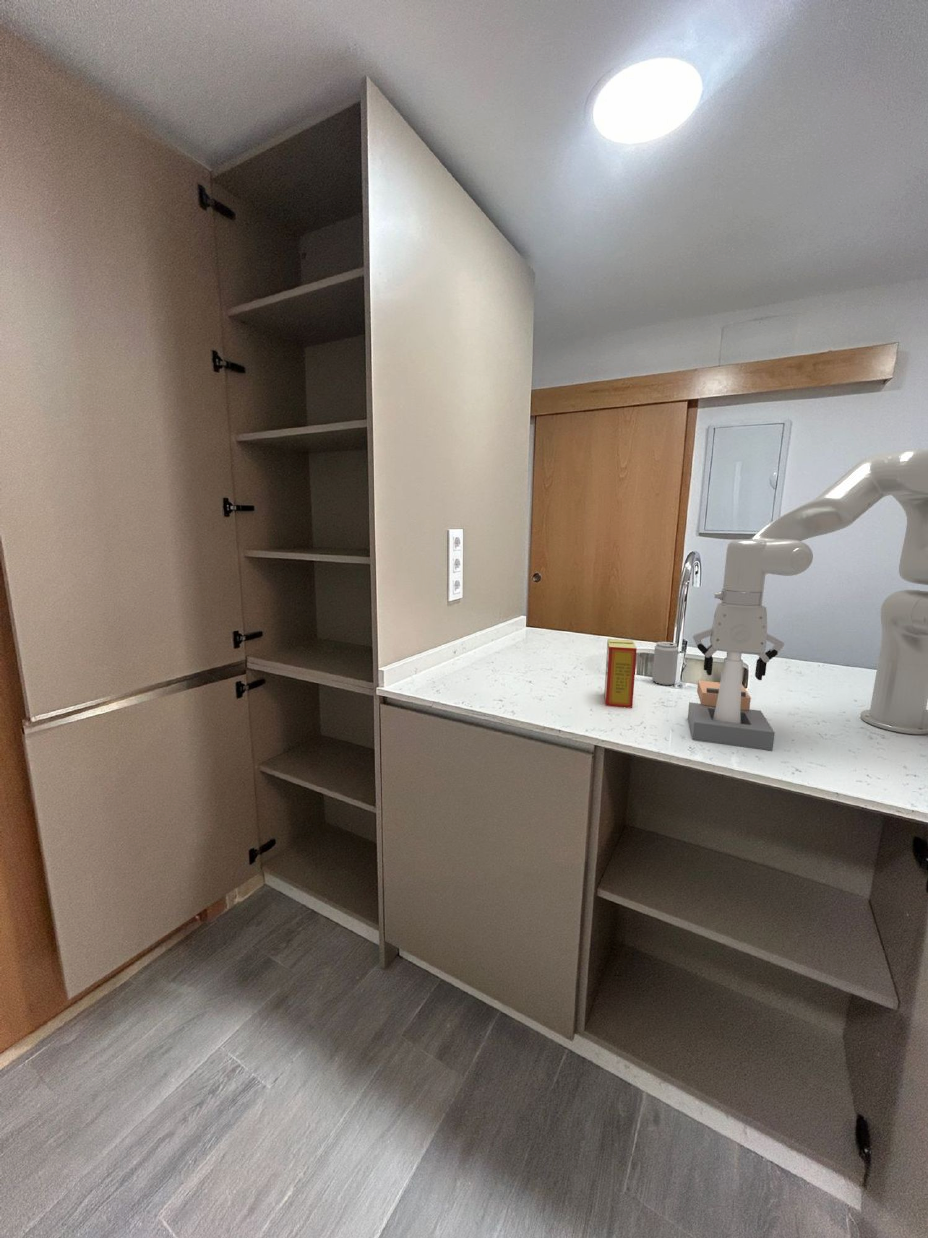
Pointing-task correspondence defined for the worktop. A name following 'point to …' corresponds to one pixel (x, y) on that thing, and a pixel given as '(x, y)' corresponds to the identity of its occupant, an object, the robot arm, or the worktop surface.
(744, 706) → the orange slotted box
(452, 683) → the worktop surface
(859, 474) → the robot arm
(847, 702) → the worktop surface
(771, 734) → the socket block
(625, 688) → the baking soda box
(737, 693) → the cosmetic bottle
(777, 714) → the worktop surface
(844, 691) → the worktop surface
